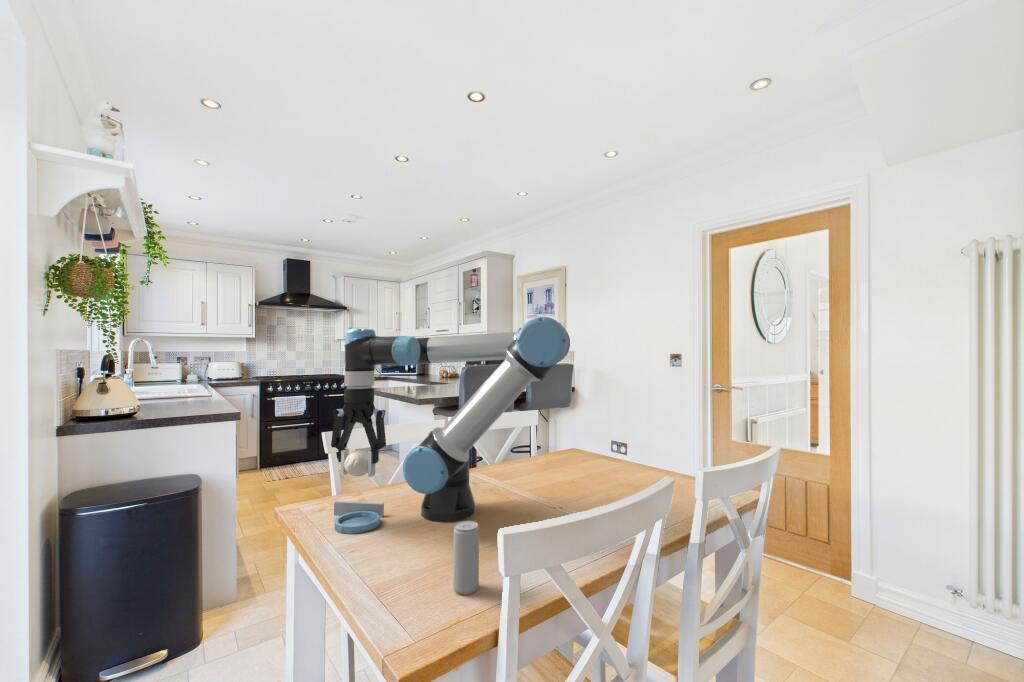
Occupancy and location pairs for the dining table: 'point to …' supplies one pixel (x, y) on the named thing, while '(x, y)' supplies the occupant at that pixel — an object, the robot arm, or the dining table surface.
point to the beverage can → (466, 557)
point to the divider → (357, 507)
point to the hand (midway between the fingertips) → (358, 474)
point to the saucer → (357, 522)
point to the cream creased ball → (357, 463)
